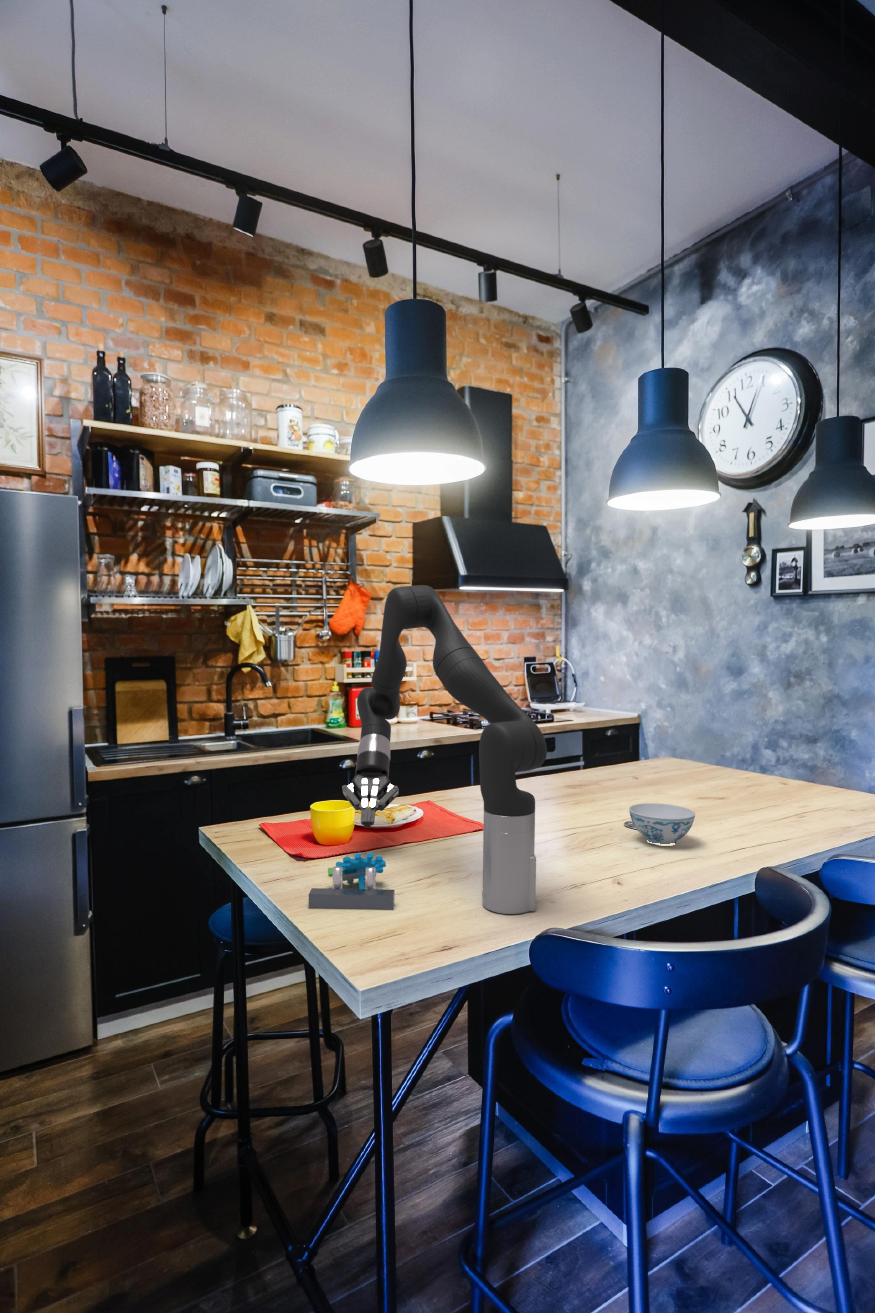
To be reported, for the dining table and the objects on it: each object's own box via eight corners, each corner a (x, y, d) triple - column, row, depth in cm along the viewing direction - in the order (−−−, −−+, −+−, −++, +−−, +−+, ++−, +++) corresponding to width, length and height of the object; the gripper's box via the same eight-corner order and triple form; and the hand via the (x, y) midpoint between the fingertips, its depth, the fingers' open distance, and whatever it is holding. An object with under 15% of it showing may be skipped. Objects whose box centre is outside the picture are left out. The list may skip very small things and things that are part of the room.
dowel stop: (395, 899, 132) (395, 867, 131) (393, 909, 127) (393, 876, 127) (313, 898, 132) (313, 865, 132) (308, 908, 127) (308, 874, 127)
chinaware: (615, 838, 174) (615, 806, 174) (661, 831, 181) (661, 801, 181) (660, 855, 161) (661, 821, 161) (708, 847, 168) (709, 814, 167)
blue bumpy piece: (386, 870, 143) (383, 846, 136) (390, 898, 139) (387, 875, 132) (331, 879, 142) (324, 855, 134) (333, 908, 138) (326, 885, 130)
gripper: (343, 748, 162) (334, 816, 150) (401, 749, 161) (397, 817, 150) (346, 767, 167) (337, 834, 155) (402, 768, 167) (398, 835, 155)
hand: (367, 825), depth 152 cm, fingers closed
